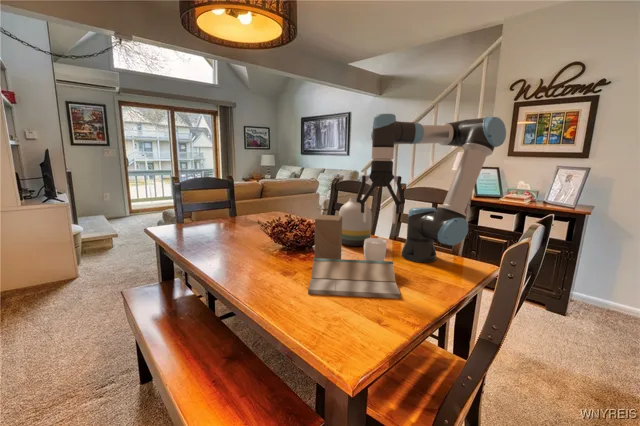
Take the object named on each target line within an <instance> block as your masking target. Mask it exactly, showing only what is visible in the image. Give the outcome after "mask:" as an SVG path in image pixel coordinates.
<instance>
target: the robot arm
mask: <svg viewBox="0 0 640 426" xmlns="http://www.w3.org/2000/svg"><path fill="white" fill-rule="evenodd" d="M396 118H397V117H396V114H394V113H379V114H375V115H374V117H373V122H372V131H371V132H370V133H371V134H370V135H371V143H372V146H371V159H372V160H371V164H370V165H371V166H370V173H369V174H367V175H365V174H363V175H362V176H361V183H360V187H359V190H358V193H357V195H356V198H357V199H356V201H357V202H358V203H360V204H361V213H364V219H363V221H364V223H366V210H367V206H368V204H367V203H366V202H367V201H368V199H369V198H370V196H371V194H372V193H373V191H374V189H375V188H376V187H378V188H379V187H383V188H387V190H388V192H389V194H390V196H391V198H392V201H393V202H394V203H395V204H392V217H391V222H392V224H393V225H394V224H396V219H397V218H396V215H398V214H399V213H400V205H402V204H403V205H404V204H405V203H406V201H405V195H404V190H403V187H402V176H400V175H398V176H397V175H394V173H393V170H394V162H393V159H394V154H395V153H394V152H395V145H419V144H421V145H422V144H423V145H424V144H439V145H440V146H451V147H459V148H462V149H463V153H462V156H461V158H460V160H459V164H458V166H457V168H456V171H455V173H454V177H453V179H452V181H451V184H450V185H449V189H448V191H447V194H446V195H445V199H444V201H443V203H442V204H441V205H439V206H437V209H436V207H429V206H427V207H424V206H423V207H412V208H410V209H409V210H408V215H407V224H406V225H407V230H406V240H405V243H404V245H403V246H402V250H401V257H403V259H405V260H408V261H411V262H415V263H417V262H418V263H432V262H435V261H436V260H437V252H436V248H435V243H434V241H435V242H438V243H441V244H443V245H448V246H456V245H458V244H460V243H461V242H463V241H464V240H465V238H466V237H467V235H468V233H469V223H468V221H467V214H466V212H465V211H466V208H467V207H468V204H469V201H470V198H471V196H472V194H473V191H474V189H475V186H476V183H477V180H478V179H479V177H480V174H481V171H482V168H483V167H484V164H485V162H486V159H487V157H489V156H492V155H493V152H494V150H495V148H498V147H501V146H502V145H503V144H504V143H505V140H506V138H507V129H506V124H505V122H504V121H503V119H501V118H500V117H498V116H486V117H480V118H471V119H468V118H467V119H462V120H459V121H453V122H444V123H441V124H440V125H439V124H438V125H437V124H434V125H433V124H431V125H430V124H429V125H428V124H424V125H422V124H421V123H419V122H414V121H413V122H410V121H409V122H408V121H399V120H397V119H396ZM368 180H370V181H371V182H372V183H371V184H370V186H369V188H368V190H367V191H366V192H365V194H364V196H363V193H364V189H365V186H366V182H368ZM393 180H394V182H395V183H396V188H397V193H398V196H399V197H398V198H399V199H398V198H397V195H396V193H395V191H394V189H393V186H392V184H391V182H392V181H393ZM362 196H363V197H362ZM361 198H362V200H361Z"/></svg>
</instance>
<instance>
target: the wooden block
mask: <svg viewBox="0 0 640 426" xmlns="http://www.w3.org/2000/svg"><path fill="white" fill-rule="evenodd" d="M342 244H343V243H342V216H339V215H331V214H329V215H328V214H320V215H318V216H317V217H316V218H314V255H313V256H314V257H313V258H322V259H342Z"/></svg>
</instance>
